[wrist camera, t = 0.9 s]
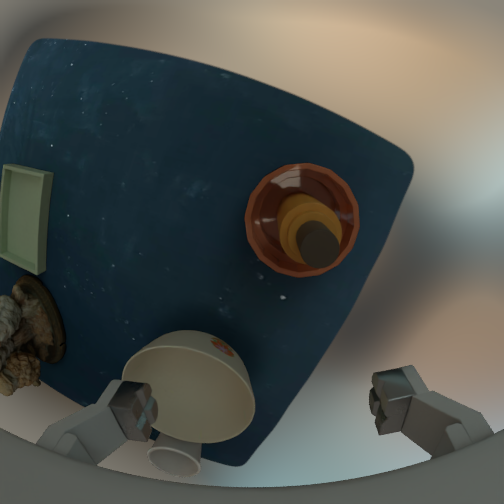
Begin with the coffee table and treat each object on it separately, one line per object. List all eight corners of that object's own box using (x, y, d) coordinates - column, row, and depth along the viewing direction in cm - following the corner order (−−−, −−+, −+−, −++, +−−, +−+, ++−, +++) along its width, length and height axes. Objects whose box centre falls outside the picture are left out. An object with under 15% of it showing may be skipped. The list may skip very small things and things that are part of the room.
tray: (12, 163, 35) (3, 164, 32) (53, 173, 35) (44, 174, 33) (7, 252, 39) (-2, 256, 36) (46, 270, 39) (37, 275, 37)
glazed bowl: (243, 170, 34) (237, 171, 28) (339, 160, 33) (353, 158, 27) (256, 264, 37) (253, 283, 31) (348, 253, 36) (361, 269, 30)
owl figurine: (78, 370, 44) (28, 431, 27) (34, 358, 45) (-16, 407, 28) (52, 275, 39) (-23, 323, 23) (9, 271, 40) (-59, 309, 23)
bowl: (128, 334, 41) (97, 373, 31) (213, 283, 38) (195, 321, 28) (194, 407, 44) (180, 452, 34) (280, 371, 41) (281, 421, 31)
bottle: (273, 194, 34) (276, 215, 19) (317, 189, 33) (355, 206, 18) (279, 237, 35) (285, 290, 20) (322, 232, 34) (358, 280, 20)
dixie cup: (218, 416, 44) (208, 462, 34) (201, 440, 46) (191, 482, 37) (170, 396, 43) (152, 440, 34) (158, 422, 46) (142, 463, 36)
